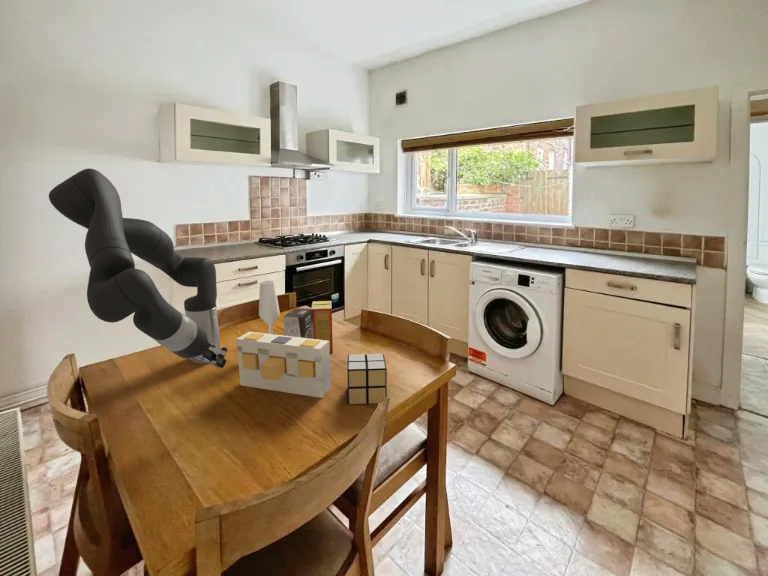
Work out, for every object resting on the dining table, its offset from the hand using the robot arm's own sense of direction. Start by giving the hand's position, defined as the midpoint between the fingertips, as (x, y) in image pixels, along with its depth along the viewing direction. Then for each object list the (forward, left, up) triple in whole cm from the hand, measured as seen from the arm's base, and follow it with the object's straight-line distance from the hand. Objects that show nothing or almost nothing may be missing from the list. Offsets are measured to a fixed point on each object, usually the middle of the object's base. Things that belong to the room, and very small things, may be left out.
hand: (222, 364), depth 101 cm
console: (+8, +15, -12) cm, 21 cm away
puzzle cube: (+32, +17, -13) cm, 38 cm away
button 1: (0, +14, -6) cm, 15 cm away
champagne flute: (-9, +37, -12) cm, 40 cm away
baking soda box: (+7, +44, -12) cm, 46 cm away
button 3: (+17, +14, -6) cm, 23 cm away
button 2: (+8, +10, -6) cm, 14 cm away
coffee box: (+4, +33, -12) cm, 35 cm away
